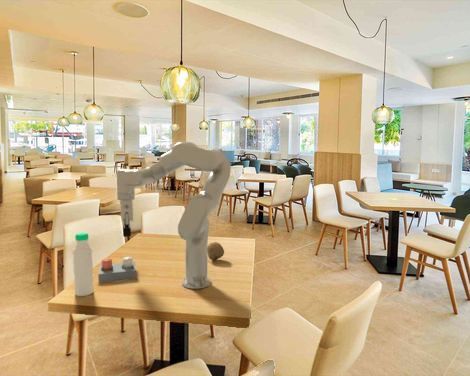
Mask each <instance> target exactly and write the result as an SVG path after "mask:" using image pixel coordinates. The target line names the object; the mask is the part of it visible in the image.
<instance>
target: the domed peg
mask: <svg viewBox="0 0 470 376" xmlns="http://www.w3.org/2000/svg"><path fill="white" fill-rule="evenodd" d="M133 262H134V261H133V257H132V256H124V257H123V258H122V263H123V269H127V268H133Z"/></svg>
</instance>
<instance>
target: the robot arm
mask: <svg viewBox="0 0 470 376" xmlns="http://www.w3.org/2000/svg"><path fill="white" fill-rule="evenodd" d="M185 166H186V167H190V168H192V169H196V170H199V171H203V172H206V173H207V172H210V173H209V175H208V176H207V178H206V181H205V182H204V185H203V187H202V189H201V190H200V192H199V193H197V194H195V195H194V196H192V197H191V198H190V199H189V201H188V203H187V204H186V207H185V209H184V210H183V213H182V215H181V218H180V219H179V222H178V224H177V234H178V235H179V237H180V238H181V239H182V240H184V241H185V277H184V278H183V279H182V280H181V282H182V283H181V284H182V286H183V287H184V288H186V289H191V290H200V289H204V288H207V287H209V286H210V285H211V283H212V281H211V278H210V277H208V252H207V249H208V245H209V241H208V240H209V233H210V223H209V222H210V220H209V219H208V216H209V215H210V214H212V213H214V212H215V211H216V208H217V206H218V205H219V202H220V200H221V198H222V195H223V194H224V190H225V189H226V186H227V184H228V183H229V182H228V181H229V179H230V177H231V172H232V171H231V168H232V167H231V163H230V160H229V159H228V156H227V155H226V154H225V153H223V152H222V151H221V150H217V149H205V148H201V147H199V146H197V145H196V143H194V142H191V141H179V142H176V143H175V144H174V145H173V147H172V148H171V149H170V150H169V151H167V152H165V153H163V154H161V155H160V157H159V160H158V161H157V162H155V163H154V164H152V165H150V166H148V167H146V168H145V167H144V168H138V169H132V168H119V169H117V171H116V194H117V197H116V198H117V200H118V201H120V202H119V206H120V207H119V208H120V216H121V217H120V218H121V221H122V223H123V225H122V230H123V231H122V233H123V234H122V236H123V237H124V238H125V237H131V236H132V235H131V229H132V228H131V222H133V221H134V205H133V204H134V203H133V200H135V187H138V188H139V187H142V186H146V185H147V186H148V185H151V184H153V183H155V182H157V181H159V180H162V179H163V178H165V177H167V176H168V175H170V174H171V173H174V172H175V171H176V170H177V171H178V170H179V169H181V168H183V167H185Z"/></svg>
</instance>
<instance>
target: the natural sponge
mask: <svg viewBox="0 0 470 376" xmlns="http://www.w3.org/2000/svg"><path fill="white" fill-rule="evenodd" d="M224 255H225V250H224V248H223V245H222V244H221V243H219V242H218V241H217V242H216V241H213V242H211V243H208V249H207V258H208V259H210V260H212V261H214V262H215V261H217V260H218V259H220V258H222V257H224Z"/></svg>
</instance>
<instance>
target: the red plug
mask: <svg viewBox="0 0 470 376" xmlns="http://www.w3.org/2000/svg"><path fill="white" fill-rule="evenodd" d="M112 264H113V259H112V258H103V259H102V260H101V265H102V271H107V270H112Z"/></svg>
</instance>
